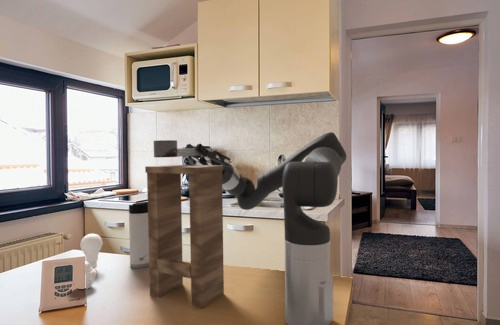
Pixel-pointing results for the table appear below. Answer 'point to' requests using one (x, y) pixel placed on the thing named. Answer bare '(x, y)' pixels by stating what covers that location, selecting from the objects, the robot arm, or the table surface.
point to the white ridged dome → (89, 274)
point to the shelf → (201, 231)
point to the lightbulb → (91, 248)
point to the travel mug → (139, 235)
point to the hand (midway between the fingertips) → (192, 146)
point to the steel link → (172, 149)
